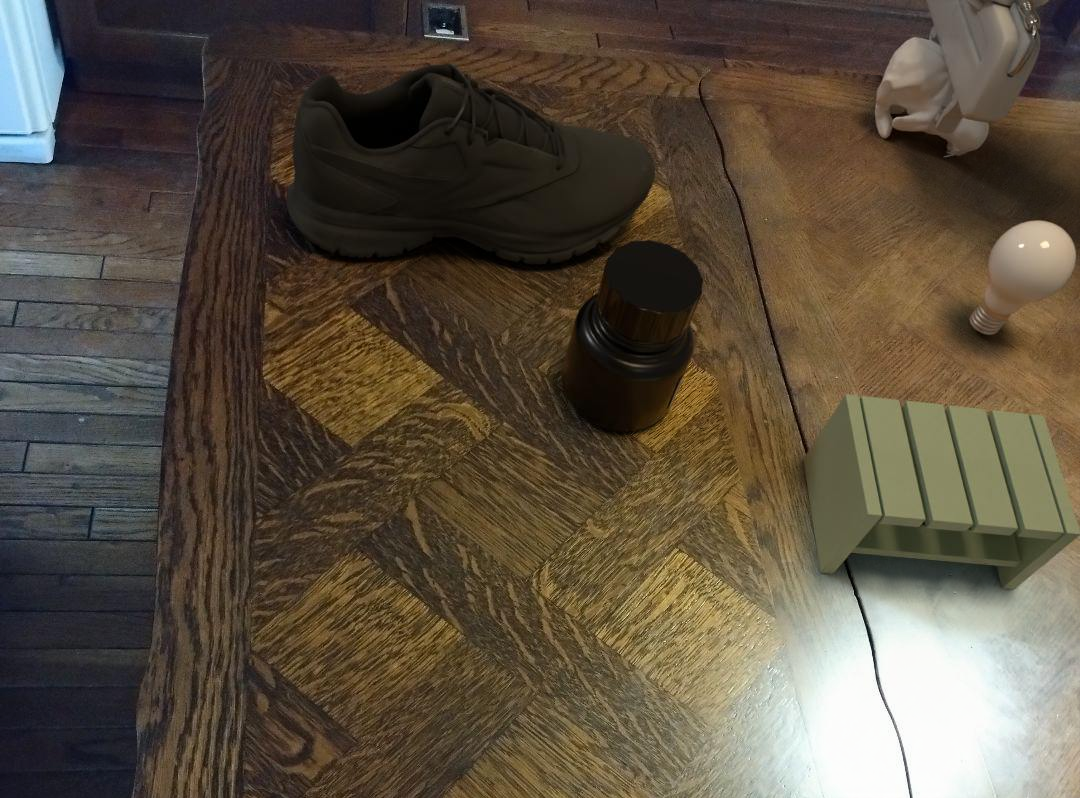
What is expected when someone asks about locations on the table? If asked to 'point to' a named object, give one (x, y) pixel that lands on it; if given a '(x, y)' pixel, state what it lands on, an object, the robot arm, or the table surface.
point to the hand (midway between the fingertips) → (934, 101)
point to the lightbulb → (1023, 271)
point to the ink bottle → (633, 337)
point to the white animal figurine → (922, 96)
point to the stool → (938, 486)
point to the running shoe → (456, 171)
